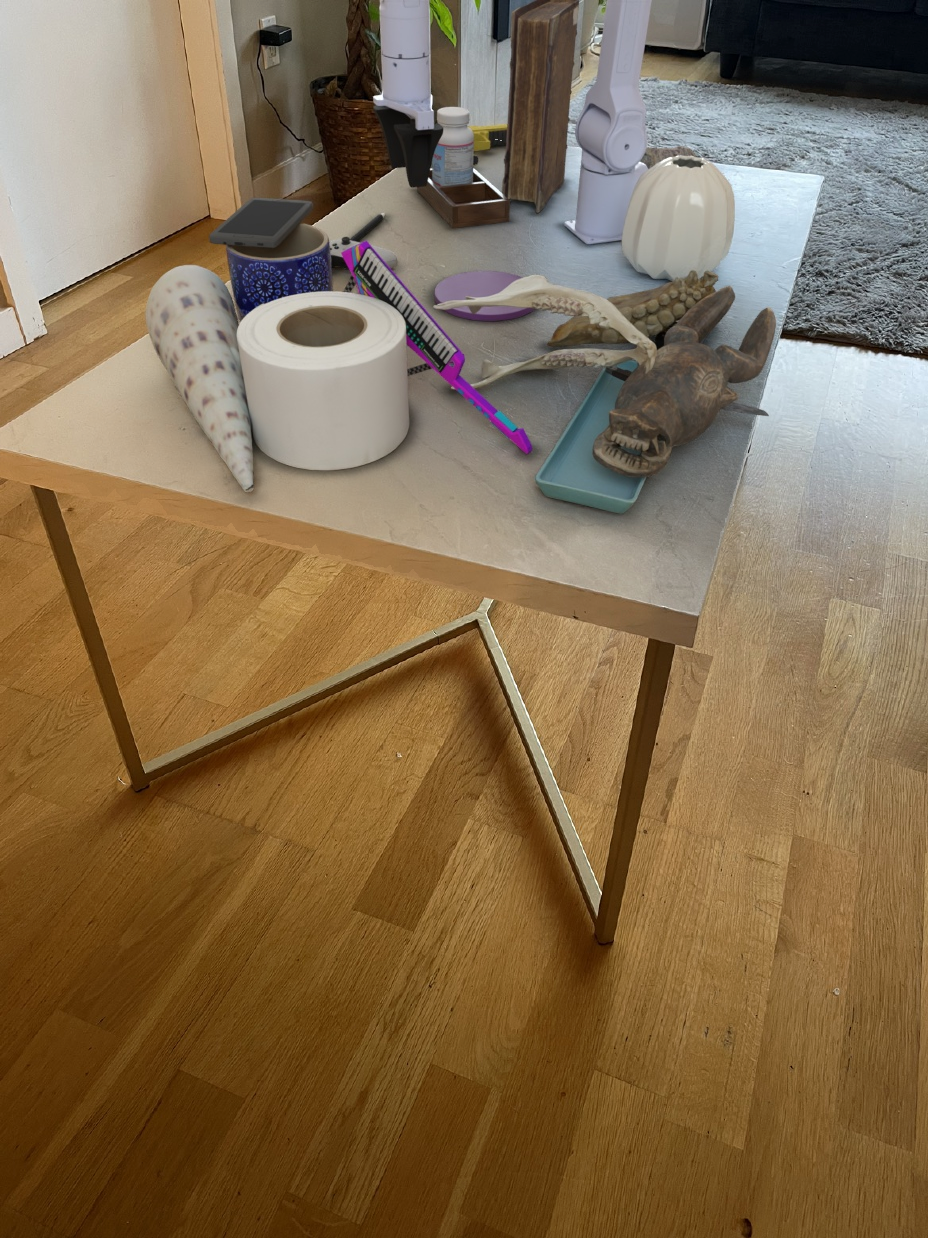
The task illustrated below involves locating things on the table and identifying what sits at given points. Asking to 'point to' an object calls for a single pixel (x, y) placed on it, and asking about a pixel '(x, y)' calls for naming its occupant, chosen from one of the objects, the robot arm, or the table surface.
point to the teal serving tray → (590, 454)
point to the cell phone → (261, 223)
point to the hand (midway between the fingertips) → (408, 176)
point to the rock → (664, 154)
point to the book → (539, 99)
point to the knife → (733, 407)
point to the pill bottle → (453, 148)
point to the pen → (368, 227)
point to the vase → (679, 219)
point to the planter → (280, 269)
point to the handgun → (488, 137)
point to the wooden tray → (467, 202)
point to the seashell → (204, 359)
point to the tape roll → (325, 379)
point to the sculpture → (681, 388)
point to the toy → (422, 333)
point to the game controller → (345, 243)
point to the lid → (478, 294)
